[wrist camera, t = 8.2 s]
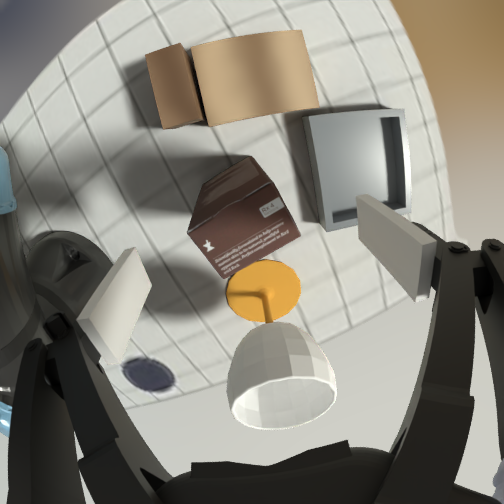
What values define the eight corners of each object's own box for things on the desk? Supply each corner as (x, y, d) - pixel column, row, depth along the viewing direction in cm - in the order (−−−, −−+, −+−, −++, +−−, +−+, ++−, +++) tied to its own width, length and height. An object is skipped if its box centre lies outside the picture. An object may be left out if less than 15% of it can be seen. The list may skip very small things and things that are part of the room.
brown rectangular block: (175, 128, 24) (163, 129, 19) (159, 65, 21) (144, 54, 16) (205, 119, 24) (198, 118, 19) (189, 56, 21) (180, 42, 16)
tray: (319, 223, 29) (326, 232, 27) (301, 117, 24) (308, 116, 22) (400, 206, 29) (411, 212, 27) (391, 108, 24) (404, 108, 22)
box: (225, 220, 28) (221, 283, 18) (201, 184, 27) (180, 228, 16) (275, 191, 27) (304, 237, 17) (253, 153, 26) (269, 174, 15)
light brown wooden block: (211, 126, 24) (208, 127, 22) (194, 54, 21) (190, 47, 18) (310, 108, 24) (319, 107, 22) (294, 38, 21) (301, 29, 18)
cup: (215, 308, 33) (209, 423, 19) (244, 247, 30) (257, 361, 16) (279, 328, 36) (302, 434, 21) (314, 274, 32) (364, 380, 18)
